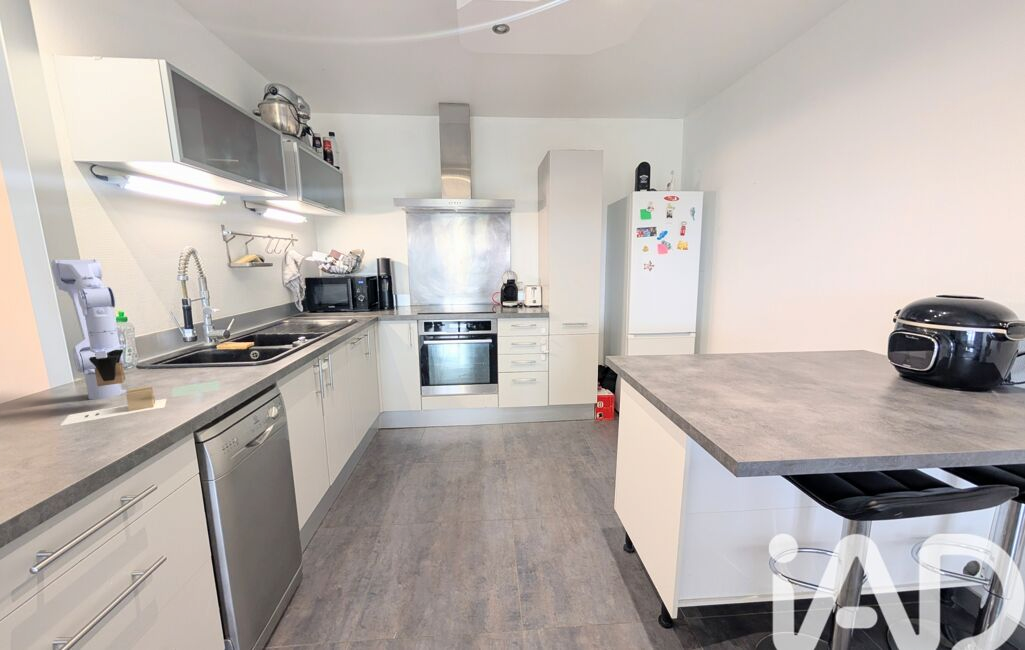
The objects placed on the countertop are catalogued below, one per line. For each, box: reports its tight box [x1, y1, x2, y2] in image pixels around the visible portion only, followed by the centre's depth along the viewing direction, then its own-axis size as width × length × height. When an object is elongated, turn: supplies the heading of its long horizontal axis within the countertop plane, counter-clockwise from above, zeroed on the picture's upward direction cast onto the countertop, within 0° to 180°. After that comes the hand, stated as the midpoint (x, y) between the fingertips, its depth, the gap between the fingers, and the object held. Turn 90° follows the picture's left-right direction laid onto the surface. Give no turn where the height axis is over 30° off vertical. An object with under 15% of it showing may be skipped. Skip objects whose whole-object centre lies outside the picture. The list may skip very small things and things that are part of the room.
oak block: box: [125, 385, 156, 411], centre depth 111 cm, size 5×5×5 cm
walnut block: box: [95, 361, 126, 386], centre depth 111 cm, size 5×5×5 cm
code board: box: [60, 398, 167, 427], centre depth 109 cm, size 9×20×1 cm, turn 128°
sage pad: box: [170, 380, 221, 398], centre depth 127 cm, size 12×12×1 cm
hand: (111, 378), depth 111 cm, fingers closed on walnut block, 5 cm apart
